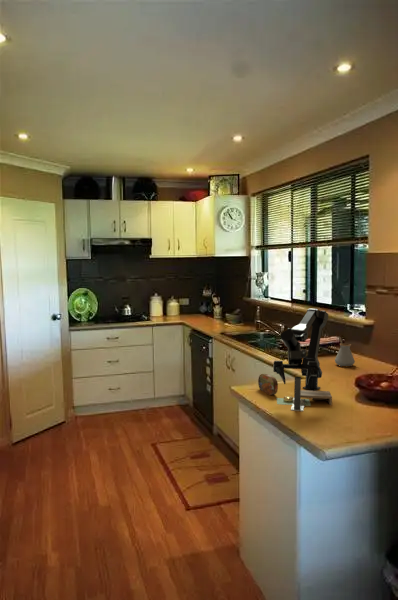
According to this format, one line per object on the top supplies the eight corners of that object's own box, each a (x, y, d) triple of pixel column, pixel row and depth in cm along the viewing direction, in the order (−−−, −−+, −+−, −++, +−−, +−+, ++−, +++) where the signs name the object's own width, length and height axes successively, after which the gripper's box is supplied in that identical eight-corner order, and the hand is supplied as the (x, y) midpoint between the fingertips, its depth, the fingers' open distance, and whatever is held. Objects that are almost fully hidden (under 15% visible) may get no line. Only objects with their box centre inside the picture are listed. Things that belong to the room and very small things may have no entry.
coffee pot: (356, 367, 269) (357, 342, 268) (336, 367, 270) (337, 342, 269) (347, 359, 290) (348, 336, 289) (329, 359, 291) (329, 336, 290)
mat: (276, 398, 211) (276, 397, 211) (308, 399, 209) (308, 399, 209) (277, 404, 202) (277, 404, 202) (310, 405, 200) (310, 405, 200)
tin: (257, 388, 227) (257, 371, 226) (263, 388, 228) (263, 371, 227) (272, 397, 213) (273, 379, 212) (278, 396, 214) (279, 378, 213)
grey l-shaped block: (294, 399, 209) (294, 369, 207) (305, 400, 207) (306, 370, 206) (290, 410, 194) (291, 378, 193) (302, 411, 193) (303, 378, 191)
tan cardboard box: (295, 398, 211) (295, 390, 210) (329, 399, 209) (329, 391, 208) (296, 404, 203) (296, 395, 202) (331, 405, 201) (331, 396, 200)
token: (283, 399, 209) (283, 395, 209) (293, 399, 209) (293, 396, 209) (283, 402, 205) (283, 399, 205) (293, 402, 204) (293, 399, 204)
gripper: (273, 342, 201) (274, 373, 191) (317, 343, 198) (320, 375, 189) (273, 356, 209) (273, 386, 200) (315, 357, 207) (317, 388, 197)
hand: (296, 384), depth 196 cm, fingers open, 9 cm apart
